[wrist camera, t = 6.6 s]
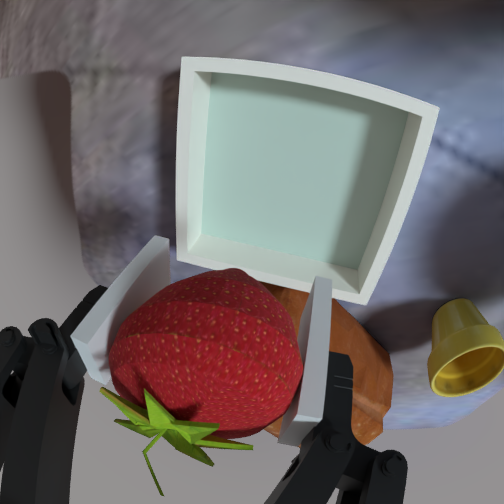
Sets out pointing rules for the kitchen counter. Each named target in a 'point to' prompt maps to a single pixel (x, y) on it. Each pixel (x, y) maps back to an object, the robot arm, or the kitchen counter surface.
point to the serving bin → (294, 172)
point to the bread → (362, 357)
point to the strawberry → (205, 363)
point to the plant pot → (463, 350)
